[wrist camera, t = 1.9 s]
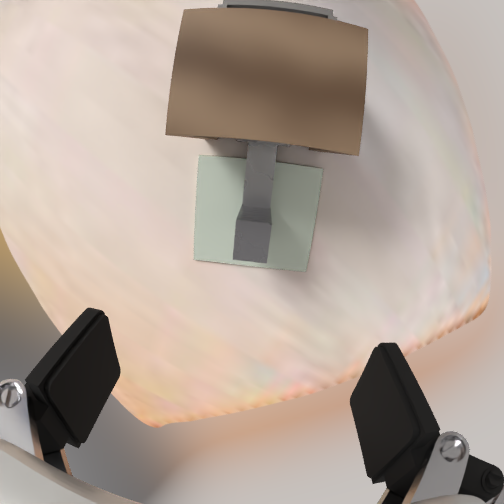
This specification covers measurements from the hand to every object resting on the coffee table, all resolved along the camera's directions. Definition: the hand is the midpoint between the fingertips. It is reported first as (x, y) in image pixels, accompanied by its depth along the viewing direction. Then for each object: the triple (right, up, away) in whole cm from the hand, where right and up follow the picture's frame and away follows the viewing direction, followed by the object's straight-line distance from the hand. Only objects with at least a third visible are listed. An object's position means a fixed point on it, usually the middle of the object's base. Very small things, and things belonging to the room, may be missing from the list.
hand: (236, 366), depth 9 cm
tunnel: (+2, +17, +13) cm, 21 cm away
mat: (+1, +7, +16) cm, 18 cm away
